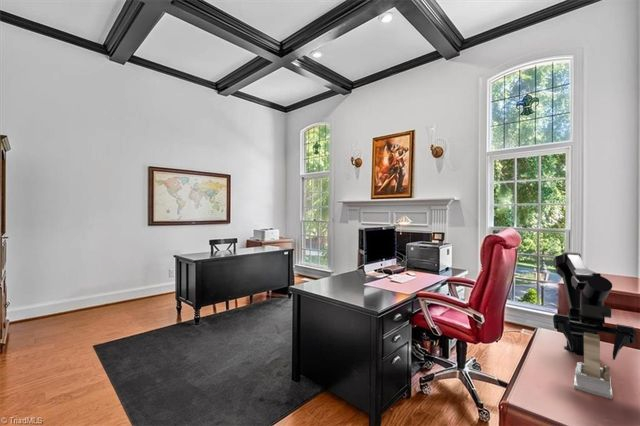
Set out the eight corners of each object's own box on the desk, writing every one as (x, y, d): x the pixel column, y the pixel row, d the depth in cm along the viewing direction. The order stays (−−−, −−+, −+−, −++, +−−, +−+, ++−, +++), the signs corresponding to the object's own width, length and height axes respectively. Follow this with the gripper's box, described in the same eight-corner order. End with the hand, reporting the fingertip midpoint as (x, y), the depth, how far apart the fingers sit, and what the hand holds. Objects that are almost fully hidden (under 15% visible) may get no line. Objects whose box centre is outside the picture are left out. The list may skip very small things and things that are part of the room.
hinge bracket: (575, 369, 98) (575, 353, 98) (610, 378, 93) (609, 361, 93) (573, 388, 88) (573, 370, 88) (612, 399, 82) (612, 380, 82)
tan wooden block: (584, 374, 93) (583, 332, 93) (599, 378, 91) (599, 335, 91) (584, 380, 90) (583, 336, 90) (600, 385, 87) (599, 339, 87)
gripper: (553, 288, 99) (550, 332, 91) (635, 299, 87) (640, 351, 79) (555, 307, 105) (553, 349, 97) (632, 319, 93) (637, 369, 85)
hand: (592, 354), depth 89 cm, fingers open, 9 cm apart
